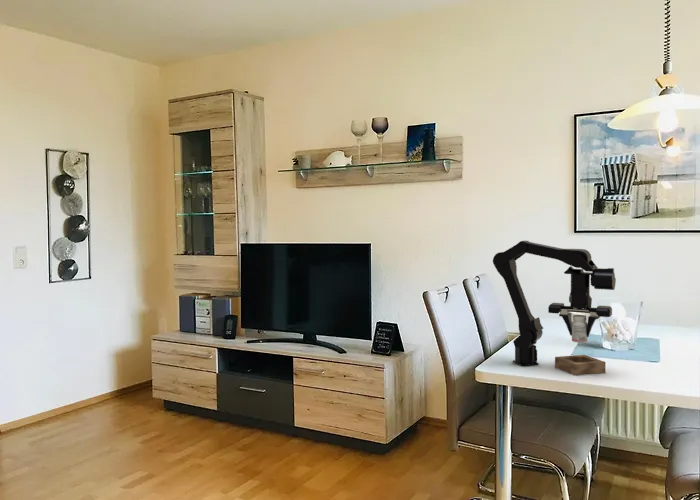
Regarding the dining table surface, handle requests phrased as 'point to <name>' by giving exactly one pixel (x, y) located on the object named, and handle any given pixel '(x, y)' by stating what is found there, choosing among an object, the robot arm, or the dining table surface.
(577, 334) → the pill bottle
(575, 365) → the socket block
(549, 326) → the dining table surface
